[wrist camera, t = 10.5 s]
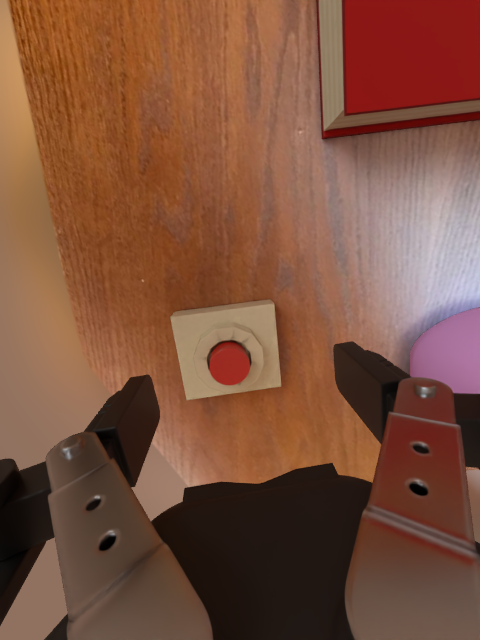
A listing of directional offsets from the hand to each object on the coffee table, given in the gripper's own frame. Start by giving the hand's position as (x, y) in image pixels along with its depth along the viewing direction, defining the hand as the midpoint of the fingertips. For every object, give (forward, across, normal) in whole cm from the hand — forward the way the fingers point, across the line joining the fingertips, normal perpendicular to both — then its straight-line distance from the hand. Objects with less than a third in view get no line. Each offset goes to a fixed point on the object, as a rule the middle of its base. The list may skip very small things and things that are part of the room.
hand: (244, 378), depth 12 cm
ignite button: (+13, +1, +5) cm, 14 cm away
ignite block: (+17, +1, +5) cm, 18 cm away
